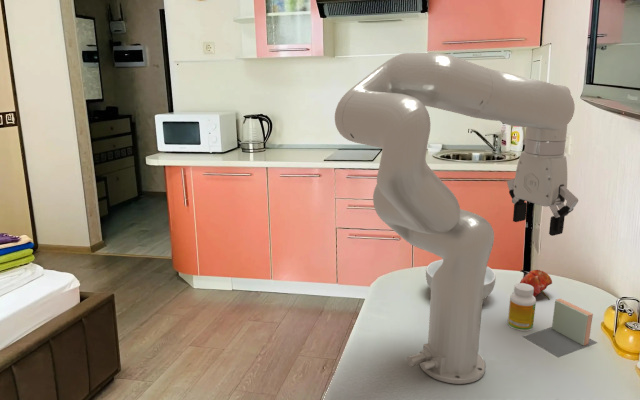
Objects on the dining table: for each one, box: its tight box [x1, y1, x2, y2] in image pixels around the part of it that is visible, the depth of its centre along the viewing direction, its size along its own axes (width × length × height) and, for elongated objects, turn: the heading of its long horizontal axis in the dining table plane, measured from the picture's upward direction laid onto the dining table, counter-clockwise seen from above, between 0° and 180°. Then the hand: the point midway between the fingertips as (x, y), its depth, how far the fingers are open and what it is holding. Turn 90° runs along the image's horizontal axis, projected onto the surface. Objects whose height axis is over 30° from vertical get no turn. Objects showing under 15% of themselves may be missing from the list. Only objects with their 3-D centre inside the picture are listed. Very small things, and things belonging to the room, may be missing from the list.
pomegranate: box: [519, 269, 553, 300], centre depth 132 cm, size 7×7×10 cm
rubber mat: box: [522, 326, 598, 358], centre depth 113 cm, size 12×9×1 cm
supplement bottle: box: [507, 282, 537, 332], centre depth 118 cm, size 5×5×10 cm
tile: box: [551, 298, 594, 346], centre depth 113 cm, size 2×8×7 cm, turn 27°
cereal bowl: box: [425, 258, 496, 300], centre depth 133 cm, size 17×17×7 cm
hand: (536, 227), depth 112 cm, fingers open, 9 cm apart
